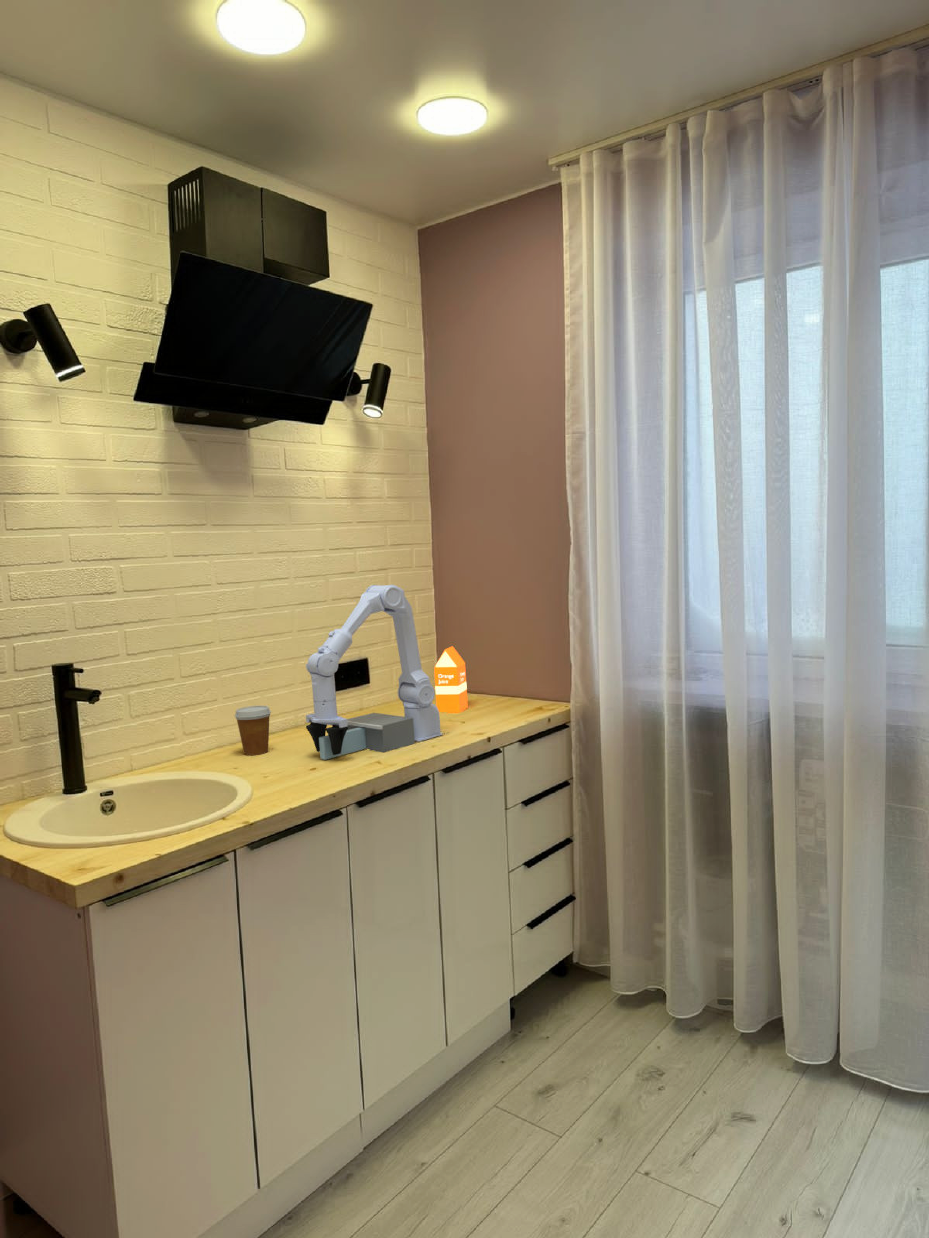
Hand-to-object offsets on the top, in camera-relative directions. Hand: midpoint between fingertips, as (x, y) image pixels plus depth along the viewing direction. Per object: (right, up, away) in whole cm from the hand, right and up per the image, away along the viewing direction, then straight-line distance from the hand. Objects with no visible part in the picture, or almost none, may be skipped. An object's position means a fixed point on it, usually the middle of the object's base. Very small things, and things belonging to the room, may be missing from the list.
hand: (328, 752), depth 222 cm
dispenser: (+12, 0, +12) cm, 17 cm away
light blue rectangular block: (+3, -1, +4) cm, 5 cm away
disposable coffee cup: (-21, -2, +12) cm, 25 cm away
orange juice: (+31, +5, +54) cm, 63 cm away
